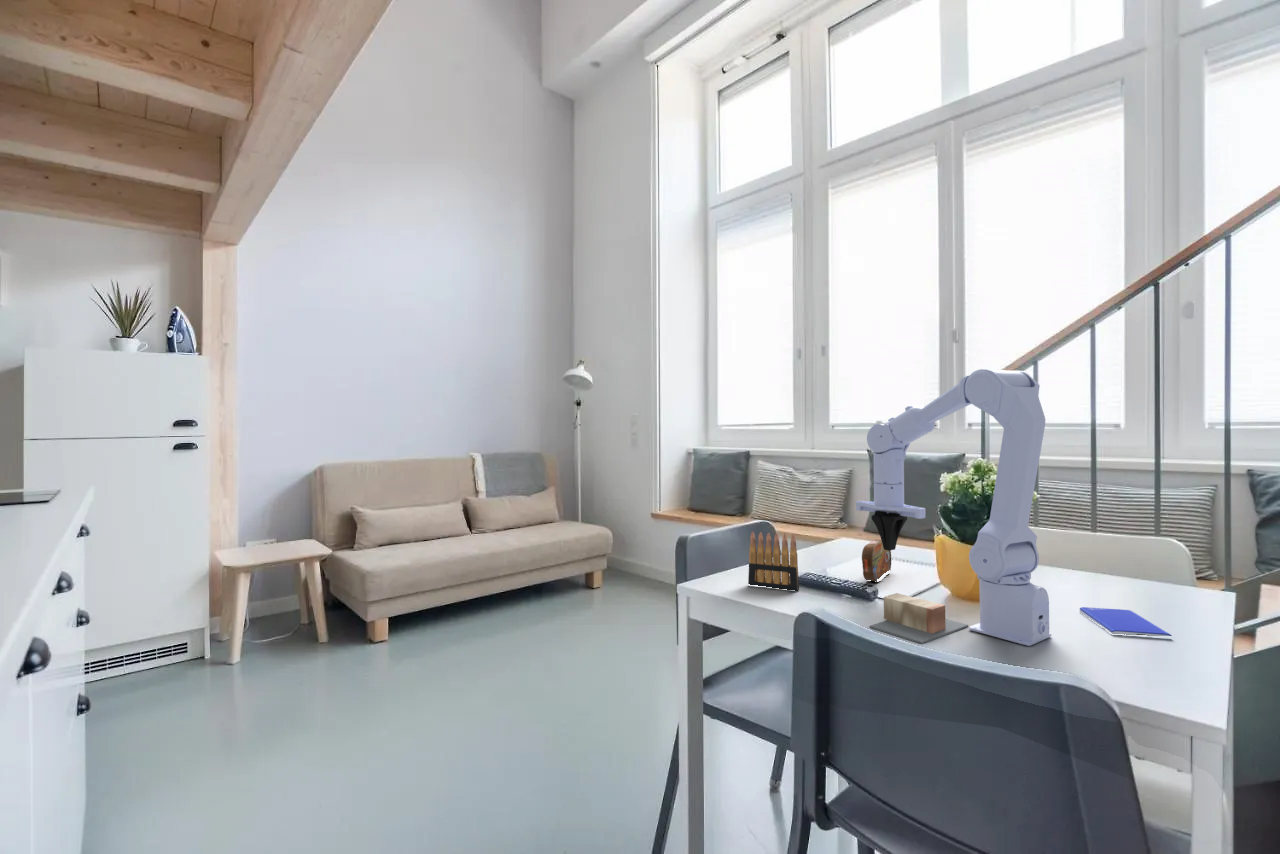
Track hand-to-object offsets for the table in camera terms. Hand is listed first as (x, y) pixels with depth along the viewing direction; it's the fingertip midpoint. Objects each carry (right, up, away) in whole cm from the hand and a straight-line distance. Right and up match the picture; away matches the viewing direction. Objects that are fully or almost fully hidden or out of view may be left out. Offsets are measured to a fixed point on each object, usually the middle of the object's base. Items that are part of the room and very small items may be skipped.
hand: (889, 549), depth 121 cm
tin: (+3, -10, +14) cm, 17 cm away
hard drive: (+32, -10, -19) cm, 39 cm away
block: (-6, -7, -14) cm, 17 cm away
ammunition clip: (-22, -10, +7) cm, 25 cm away
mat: (-3, -10, -19) cm, 21 cm away
